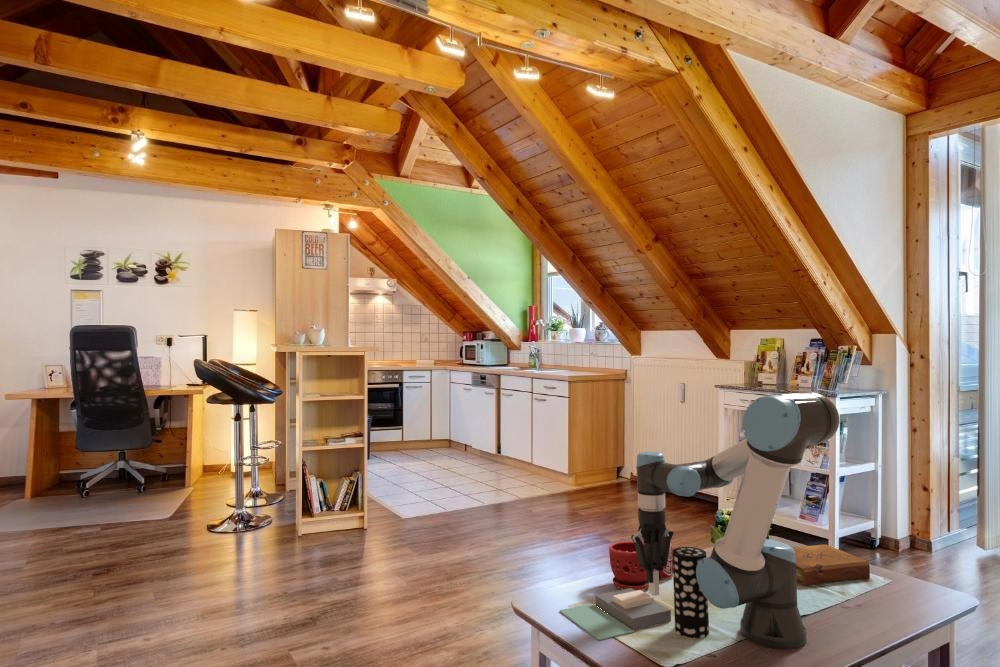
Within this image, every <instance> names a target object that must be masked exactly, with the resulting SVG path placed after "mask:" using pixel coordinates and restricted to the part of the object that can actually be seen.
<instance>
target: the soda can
mask: <svg viewBox="0 0 1000 667" xmlns="http://www.w3.org/2000/svg"><path fill="white" fill-rule="evenodd" d="M673 549H674V545H673V542H672V541H671V542H670V548H669V555H668V561H667V566H666V567H662V568H663V571H661V580H662V581H663V580H664V581H665V580H670V579H671V578H673V555H672V550H673Z"/></svg>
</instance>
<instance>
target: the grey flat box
mask: <svg viewBox="0 0 1000 667" xmlns="http://www.w3.org/2000/svg"><path fill="white" fill-rule="evenodd" d="M633 591H636V590H634V589H632V588H627V589H619V590H618V589H617V590H613V591H608V592H603V593H598V594H595V595H594V596H595V600H594V601H595V602H594V603H595V606H598V607H599V608H601V609H602V610H603V611H605V612H606V613H608V614H609V615H611V616H612V617H614V618H615V619H617V620H618V621H620V622H621V623H623V624H624V625H626V626H627V627H629V628H630V629H632V630H633V631H636V630H640V629H641V630H642V629H644V628H645V629H646V628H649V627H653V626H658V625H662V624H667V623H670V622H672V611H671V609H669V608H668V607H666V606H664V605H663V604H661V603H659V602H657V601H655V600H654V599H653V603H650V604H646V605H641V606H637V607H632V608H627V609H625V608H624V607H622V606H620V605H619V604H617V603H615V602H614V601H613V595H618V594H623V593H628V592H633Z"/></svg>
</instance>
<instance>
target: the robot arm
mask: <svg viewBox="0 0 1000 667" xmlns="http://www.w3.org/2000/svg"><path fill="white" fill-rule="evenodd" d="M741 421H742V423H741V424H742V429H743V430H744V432H743V435H744V437H745V438H744V439H743V440H740V441H738V442H736V443H735V444H733V445H731V446H730V447H728V448H726V449H724V450H721V451H720V452H718V453H717V454H715V455H713V456H711V457H710V458H707V459H705V460H699V461H693V462H686V463H685V462H684V463H679V464H675V463H670V462H665V456H664V454H663V453H662V452H658V451H641V452H639V453H637V456H636V467H635V468H636V482H637V484H636V485H637V486H636V488H637V505H638V509H637V516H638V517H637V520H638V524H639V527H638V529H637V532H636V534H635V535H634V534H632V535H631V536H630V539H631V540H632V542H634V544H635V548H636V552H637V556H638V561H639V565H640V567H641V568H643V569H645V570H646V574H647V582H649V587H648V593H650V594H651V595H652V596H653V595H654V596H659V595H660V582H661V580H662V579H661V571H663V568H662V567H666V566H667V561H668V555H669V548H670V542H672V541H671V540H672V538H673V536H674V531H672V530H669V529H668V528H667V526H666V522H667V518H666V516H667V515H666V512H667V511H666V510H665V509H666V507H667V506H666V492H667V493H671V494H675V495H676V496H678V497H679V496H680V497H682V496H683V497H693V496H694V495H695V494H696V493H698V492H699V491H702V490H709V489H715V488H719V489H720V488H723V487H725V486H729V485H730V484H732V482H733V481H734V479H736V478H739V477H741V476H742V475H743V477H742V479H741V482H740V487H739V488H738V491H737V495H736V498H735V501H734V505H733V508H732V511H731V514H730V518H729V519H728V523H727V527H726V529H725V532H724V536H723V537H720V538H717V539H716V540H715V542H714V543H713V544H714V545H713V547H712V550H711V554H710V555H709V557H708V556H706V557H705V558H703V559H702V560H700V561H699V563H698V564H697V567H696V577H697V582H698V584H699V587H700V590H701V591H702V593H703V595H704V596H705V597H706V599H707V600H708V603H710V604H711V605H712V606H714V607H716V608H718V609H723V610H724V609H731V608H733V609H734V608H737V607H738V606H742V605H745V606H744V610H743V613H742V617H741V619H740V623H739V625H740V626H739V627H740V633H741V635H742V637H743V638H744V639H746V640H747V641H749V642H751V643H753V644H755V645H759V646H762V647H766V648H771V649H777V650H778V649H779V650H792V649H797V648H800V647H802V646H804V645H805V644H807V639H808V638H807V629H806V626H805V625H804V622H803V619H802V616H801V613H800V610H799V607H798V588H797V587H798V586H797V585H798V584H797V580H796V564H797V563H796V559H795V551H794V550H793V548H794V547H793V546H791V545H790V544H787V543H784V542H782V541H777V540H774V539H768V538H767V537H768V534H769V531H770V529H771V526H772V522H773V519H774V516H775V514H776V511H777V508H778V505H779V502H780V499H781V496H782V492H783V490H784V487H785V485H786V482H787V480H788V475H789V473H790V471H791V468H792V467H795V466H798V465H800V463H801V462H802V459H803V456H804V454H805V452H806V451H805V450H807V449H810V448H812V447H815V446H816V445H817V446H818V445H819V444H821V443H825V442H827V441H829V440H830V439H831V438H833V437H834V436H835V435H836V433H837V431H838V430H839V426H840V413H839V411H838V409H837V407H836V405H835V404H834V403H833V401H831V399H829V398H827V397H826V396H825V395H824V394H820V393H817V392H812V391H805V392H794V393H772V394H768V395H765V396H760V397H758V398H756V399H754V400H753V401H751V402H750V403H749V405H748V406H747V407H746V409H745V411H744V413H743V417H742V420H741ZM643 543H644V545H645V550H644V546H643Z"/></svg>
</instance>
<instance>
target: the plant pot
mask: <svg viewBox="0 0 1000 667" xmlns="http://www.w3.org/2000/svg"><path fill="white" fill-rule="evenodd" d="M642 543H643V542H642ZM643 546H644V550H645V545H644V543H643ZM608 548H609V552H608V553H609V564H610V568H611V571H612V574H613V575H614V577H613V578H612V583H613V585H614V586H615V587H617V588H619V590H622V589H627V588H632V589H634V590H636V591H637V590H641V591H644V590H647V589H649V582H647V574H646V570H645V569H643V568H641V567H640V565H639V561H638V556H637V552H636V548H635V544H634V542H633V541H621V542H619V541H618V542H615V543H611V544H610V545H609V547H608Z"/></svg>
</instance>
